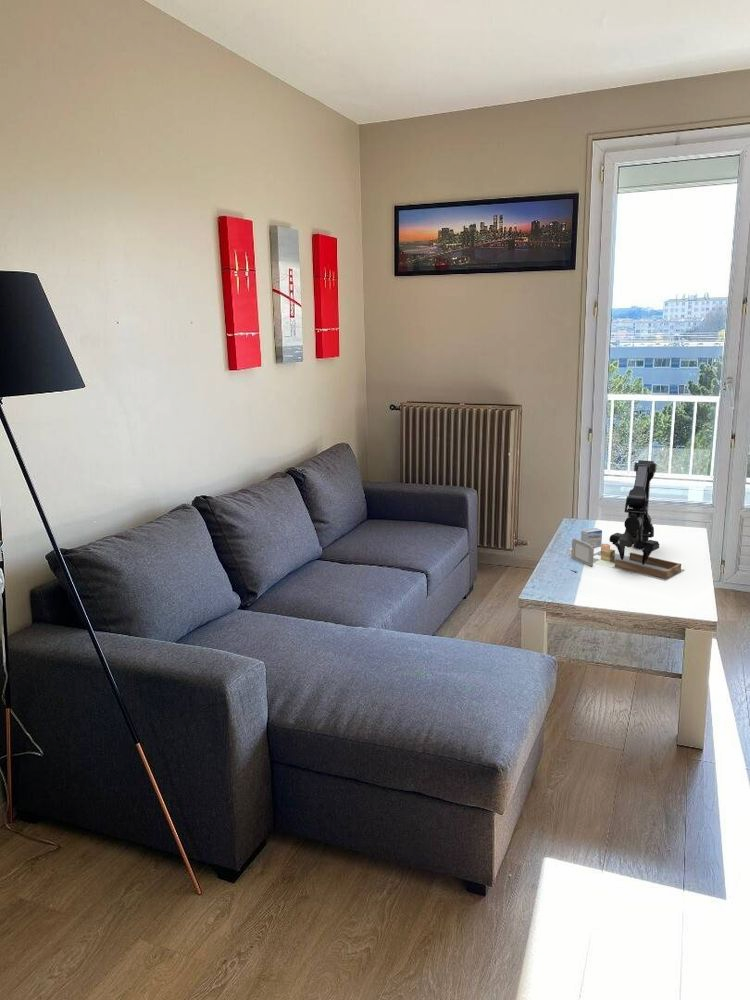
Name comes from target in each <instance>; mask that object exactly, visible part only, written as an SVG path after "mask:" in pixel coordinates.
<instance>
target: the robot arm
mask: <svg viewBox="0 0 750 1000" xmlns="http://www.w3.org/2000/svg"><path fill="white" fill-rule="evenodd" d="M657 466H658V465H657V463H655V461H653V460H640V459H639V460H638V461H637V462H634V467H633V472H635V478H634V479H635V480H634V485H633V488H632V489H630V490H629V492H628V495H626V500H625V505H624V513H628V514H627V517H626V519H625V521H624V524H623V525H624V528H625V530H624V533H619V532H616V533H613V534H611V535H610V536H609V540H608V541H609V542H610V543H611V544H612V545H614V546H615V547H616V549H617V551H618V554H619V555H620V558H621V560H623V558H624V556H625V553H626V551H625V550H626V548H632V547H633V549H637V550H641V551H642V555H643V560H642V565H644V564H645V562H646V561H647V559H648V557H650V555H651V554H652V552H654V551H656V550H659V549H660V543H659V541H657V540H654V539H653V540H652V539H649V538H653V537H654V535H655V528H654V525H653V523H652V518H651V516H650V514H649V501H650V485H651V481H652V479H653V478H654V476H655V473H657Z"/></svg>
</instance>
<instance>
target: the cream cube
mask: <svg viewBox="0 0 750 1000" xmlns="http://www.w3.org/2000/svg"><path fill="white" fill-rule="evenodd" d="M571 550H572V546H571V547H569V549H568V556H570V557H571V554H572V551H571Z"/></svg>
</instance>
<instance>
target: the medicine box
mask: <svg viewBox="0 0 750 1000" xmlns="http://www.w3.org/2000/svg"><path fill="white" fill-rule="evenodd" d="M602 539H603V530H602V529H600V528H597V527H594V528H589V529H582V530H581V533H580V541H583V542H585V543H587V544H590V545H592V546H593V548H594V549H596V548H601V544H603V542H602Z"/></svg>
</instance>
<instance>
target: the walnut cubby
mask: <svg viewBox="0 0 750 1000" xmlns="http://www.w3.org/2000/svg"><path fill="white" fill-rule="evenodd" d="M629 557H630V558H629V560H632V561H636V562H641V563H642V560H643V554H639V553H634V552H629ZM645 564H649V565H653V566H658V567H662V568H666V569H668V570H666V571H663V570H659V569H655V568H651V567H646V566H642V565H638V564H634V563H630V562H626V561H621V560H617V559H616V560H615V567H618V568H622V569H626V570H630V571H634V572H638V573H642V574H646V575H650V576H654V577H658V578H662V579H668V578H669V577H671V576H673V575H675V574H677V573H678V572H680V571H681V569H682V564H681V563H678V562H673V561H668V560H665V559H660V558H656V557H652V556H649V557H648V559H647V561H646V562H645ZM668 580H669V579H668Z"/></svg>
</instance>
